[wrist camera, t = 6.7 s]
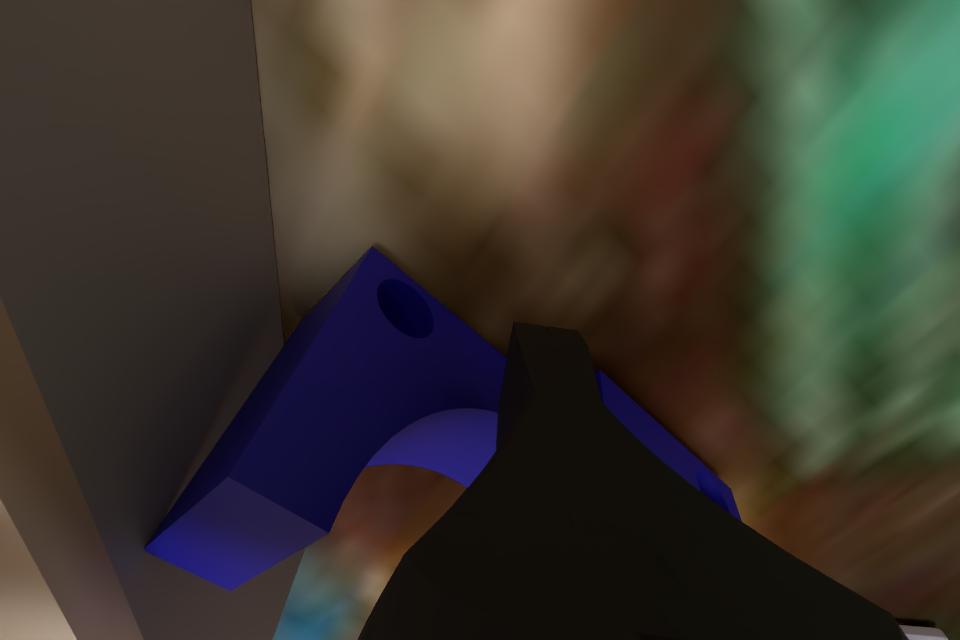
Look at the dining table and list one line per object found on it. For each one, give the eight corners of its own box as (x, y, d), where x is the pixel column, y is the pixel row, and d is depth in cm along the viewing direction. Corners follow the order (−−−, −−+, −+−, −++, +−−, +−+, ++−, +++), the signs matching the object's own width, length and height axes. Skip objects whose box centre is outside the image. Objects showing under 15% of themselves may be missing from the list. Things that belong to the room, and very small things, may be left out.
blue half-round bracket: (730, 488, 14) (822, 760, 9) (604, 537, 16) (625, 776, 12) (414, 201, 10) (289, 424, 5) (302, 318, 12) (142, 549, 7)
